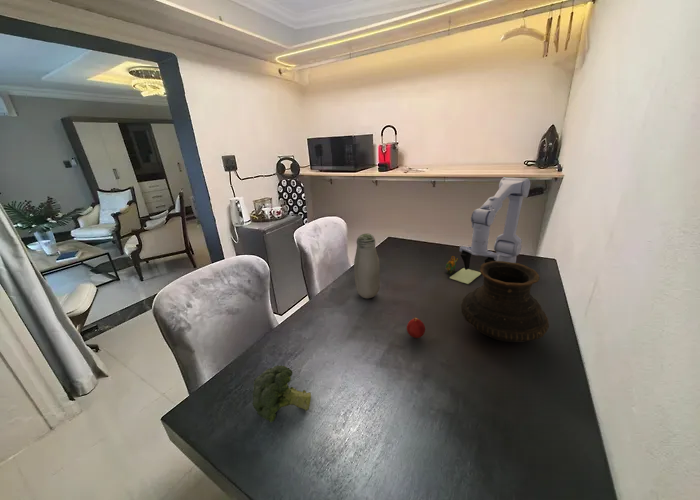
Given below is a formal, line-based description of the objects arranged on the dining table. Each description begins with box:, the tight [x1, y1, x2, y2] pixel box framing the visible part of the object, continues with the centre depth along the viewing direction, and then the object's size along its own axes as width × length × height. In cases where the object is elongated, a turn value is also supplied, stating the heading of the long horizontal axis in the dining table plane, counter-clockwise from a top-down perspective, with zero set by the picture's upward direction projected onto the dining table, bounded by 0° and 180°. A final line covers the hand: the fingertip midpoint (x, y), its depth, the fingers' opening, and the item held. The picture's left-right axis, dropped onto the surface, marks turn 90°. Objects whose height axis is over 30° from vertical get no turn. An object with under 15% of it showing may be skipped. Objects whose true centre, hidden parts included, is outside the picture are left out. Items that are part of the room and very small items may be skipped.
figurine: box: [444, 255, 459, 275], centre depth 127 cm, size 3×12×8 cm, turn 133°
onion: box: [406, 317, 426, 339], centre depth 86 cm, size 6×6×8 cm
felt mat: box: [449, 267, 482, 285], centre depth 124 cm, size 14×9×1 cm, turn 132°
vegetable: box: [251, 364, 312, 423], centre depth 66 cm, size 12×13×15 cm
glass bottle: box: [353, 233, 381, 299], centre depth 108 cm, size 10×10×28 cm
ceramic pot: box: [460, 260, 550, 343], centre depth 83 cm, size 24×24×22 cm
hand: (476, 271), depth 106 cm, fingers open, 7 cm apart
